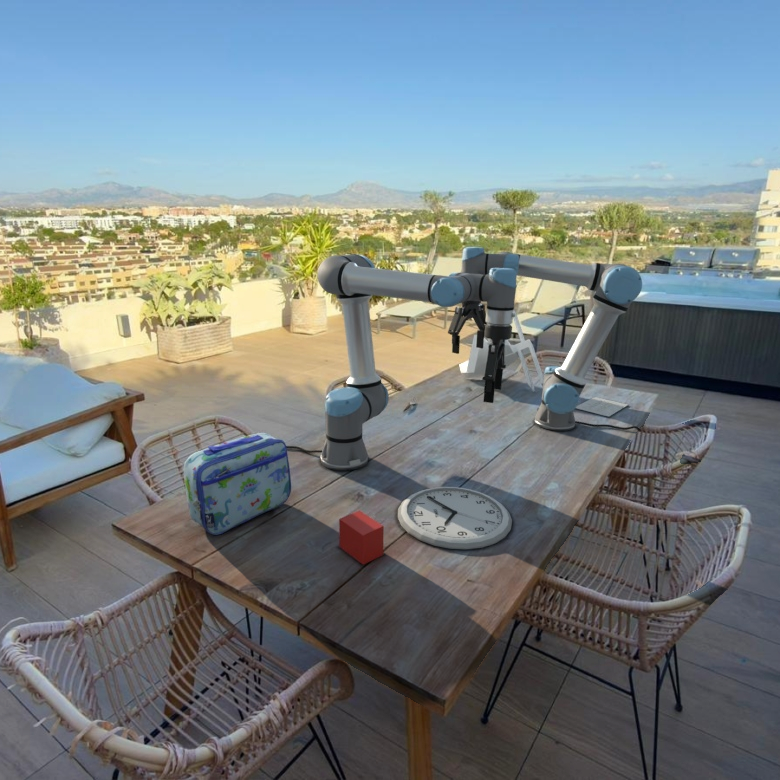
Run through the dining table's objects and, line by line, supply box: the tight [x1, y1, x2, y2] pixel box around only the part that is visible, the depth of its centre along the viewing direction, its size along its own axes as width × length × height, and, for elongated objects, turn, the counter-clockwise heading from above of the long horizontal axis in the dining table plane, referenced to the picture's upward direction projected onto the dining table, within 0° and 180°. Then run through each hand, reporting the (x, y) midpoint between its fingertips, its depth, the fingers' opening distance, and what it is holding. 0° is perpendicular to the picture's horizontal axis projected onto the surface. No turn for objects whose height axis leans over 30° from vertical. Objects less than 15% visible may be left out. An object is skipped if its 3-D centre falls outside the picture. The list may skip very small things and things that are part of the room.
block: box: [338, 510, 385, 566], centre depth 122 cm, size 9×6×8 cm, turn 41°
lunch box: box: [183, 432, 292, 536], centre depth 133 cm, size 26×11×21 cm, turn 134°
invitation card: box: [575, 396, 629, 418], centre depth 226 cm, size 21×1×15 cm
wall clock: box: [397, 486, 513, 550], centre depth 138 cm, size 30×2×30 cm
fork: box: [403, 396, 419, 412], centre depth 222 cm, size 3×16×2 cm, turn 160°
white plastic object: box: [458, 309, 544, 393], centre depth 256 cm, size 37×45×31 cm
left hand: (492, 395), depth 154 cm, fingers open, 13 cm apart
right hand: (467, 350), depth 192 cm, fingers open, 13 cm apart
